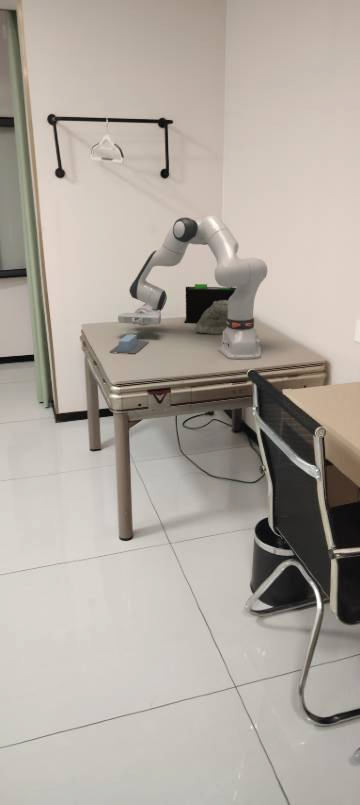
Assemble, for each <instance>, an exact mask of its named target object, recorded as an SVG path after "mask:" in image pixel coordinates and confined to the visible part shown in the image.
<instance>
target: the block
mask: <svg viewBox="0 0 360 805" xmlns="http://www.w3.org/2000/svg"><path fill="white" fill-rule="evenodd" d="M137 341H138V334H128V333H127V334H125V336H123V337H122V338H120V340H118V345H119V351H127V352H129V351H130V350H131V349H132V348H134V347H135V346H136V345H137Z"/></svg>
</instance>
